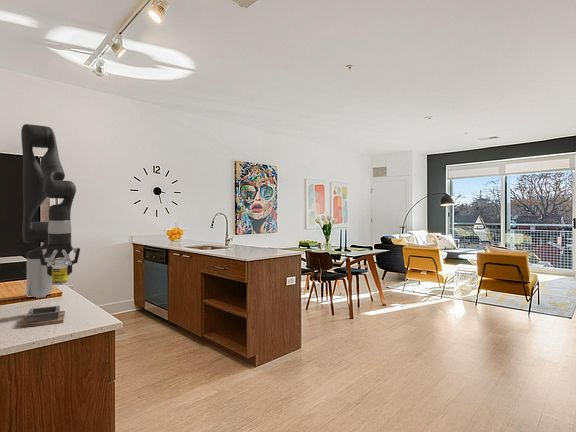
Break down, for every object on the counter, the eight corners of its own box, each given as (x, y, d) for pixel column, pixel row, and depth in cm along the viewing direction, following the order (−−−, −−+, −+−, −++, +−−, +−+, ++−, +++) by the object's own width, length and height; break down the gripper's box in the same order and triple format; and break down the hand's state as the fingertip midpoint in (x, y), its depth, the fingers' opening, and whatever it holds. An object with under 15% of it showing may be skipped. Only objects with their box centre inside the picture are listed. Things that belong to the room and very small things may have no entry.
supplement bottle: (50, 286, 132) (50, 260, 131) (52, 282, 136) (52, 258, 136) (67, 284, 134) (67, 259, 134) (68, 281, 139) (68, 257, 139)
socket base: (25, 317, 126) (25, 308, 126) (64, 313, 132) (64, 304, 132) (20, 328, 116) (20, 317, 115) (63, 322, 122) (63, 312, 121)
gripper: (81, 230, 141) (81, 271, 142) (38, 231, 134) (38, 274, 135) (81, 232, 135) (81, 275, 136) (35, 233, 128) (36, 278, 128)
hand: (59, 274), depth 135 cm, fingers closed on supplement bottle, 5 cm apart
